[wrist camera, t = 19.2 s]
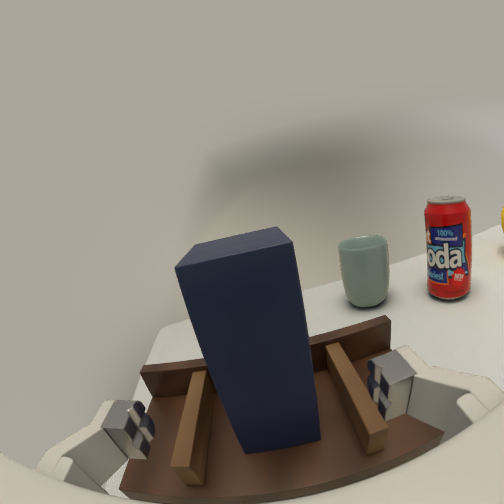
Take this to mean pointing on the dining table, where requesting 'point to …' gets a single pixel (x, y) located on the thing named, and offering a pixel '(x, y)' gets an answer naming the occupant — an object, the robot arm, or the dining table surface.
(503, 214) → the vase
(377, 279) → the cup
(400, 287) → the dining table surface
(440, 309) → the dining table surface
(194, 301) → the navy block
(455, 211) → the soda can
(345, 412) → the wooden divided tray
